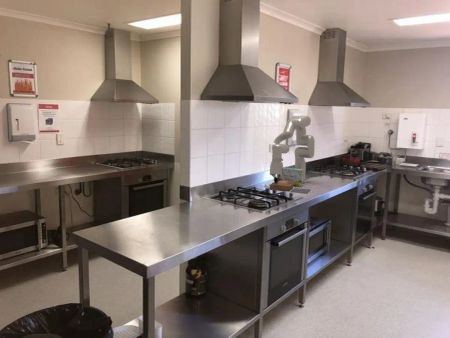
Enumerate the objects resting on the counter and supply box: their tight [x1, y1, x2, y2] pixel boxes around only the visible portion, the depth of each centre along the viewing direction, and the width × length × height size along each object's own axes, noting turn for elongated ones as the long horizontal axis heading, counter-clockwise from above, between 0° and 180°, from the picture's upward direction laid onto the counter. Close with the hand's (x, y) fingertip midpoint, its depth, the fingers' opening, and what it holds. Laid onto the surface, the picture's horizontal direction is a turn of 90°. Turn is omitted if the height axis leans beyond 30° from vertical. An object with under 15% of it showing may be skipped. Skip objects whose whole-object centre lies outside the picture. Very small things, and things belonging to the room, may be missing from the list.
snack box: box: [278, 166, 304, 189], centre depth 311 cm, size 21×6×15 cm, turn 62°
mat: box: [290, 187, 311, 194], centre depth 291 cm, size 16×13×1 cm
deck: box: [269, 181, 294, 193], centre depth 296 cm, size 14×16×4 cm
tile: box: [278, 180, 288, 185], centre depth 296 cm, size 9×6×2 cm, turn 158°
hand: (275, 182), depth 298 cm, fingers closed
